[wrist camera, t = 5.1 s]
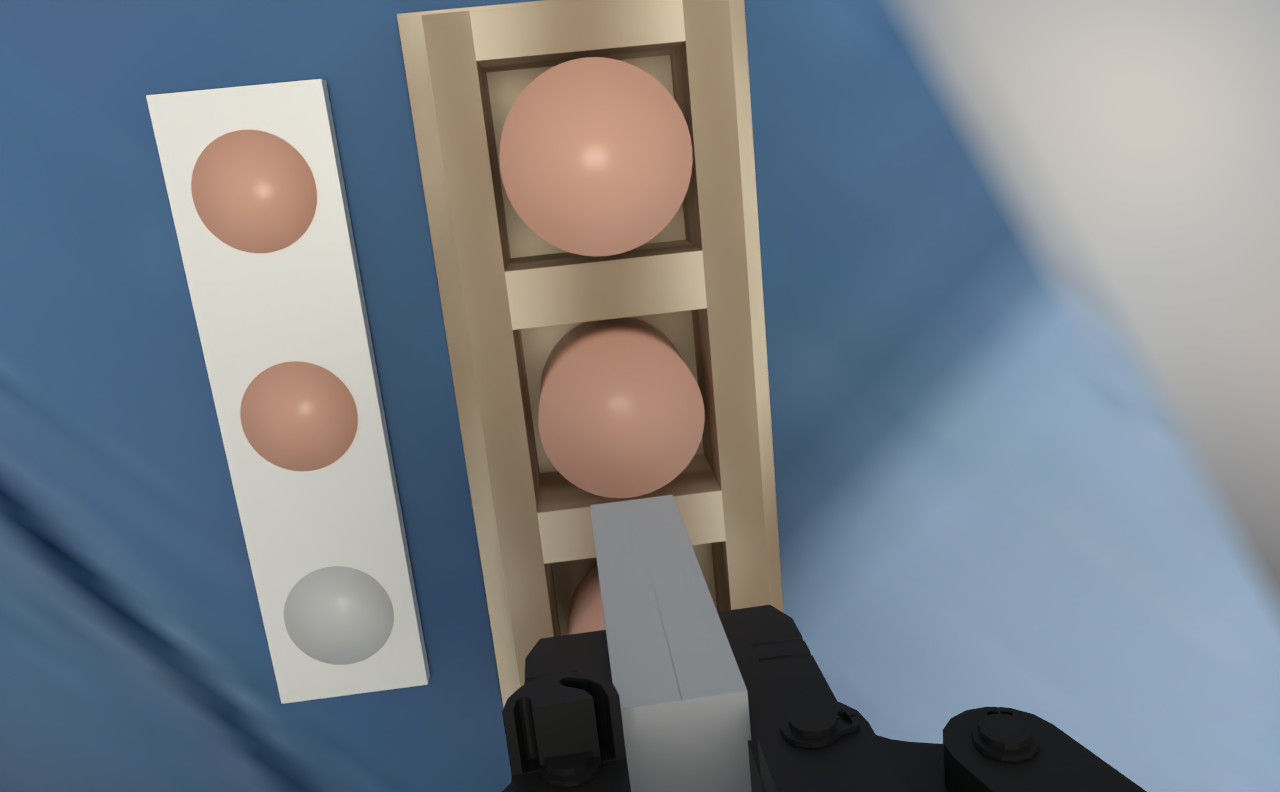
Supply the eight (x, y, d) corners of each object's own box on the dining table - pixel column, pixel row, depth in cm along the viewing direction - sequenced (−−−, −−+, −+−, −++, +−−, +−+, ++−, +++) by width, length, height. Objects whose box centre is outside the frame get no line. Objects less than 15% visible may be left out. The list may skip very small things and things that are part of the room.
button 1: (519, 252, 26) (512, 265, 23) (496, 78, 25) (486, 66, 22) (681, 234, 26) (699, 245, 23) (667, 62, 25) (684, 48, 22)
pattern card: (286, 694, 33) (281, 705, 32) (154, 96, 28) (144, 95, 27) (430, 675, 33) (427, 685, 32) (326, 80, 28) (320, 78, 27)
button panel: (506, 703, 33) (499, 784, 29) (402, 18, 28) (373, -7, 23) (781, 666, 34) (813, 741, 30) (736, -12, 28) (768, -43, 24)
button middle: (550, 467, 30) (549, 507, 26) (531, 324, 28) (528, 347, 25) (693, 450, 30) (710, 487, 26) (681, 308, 29) (697, 328, 25)
